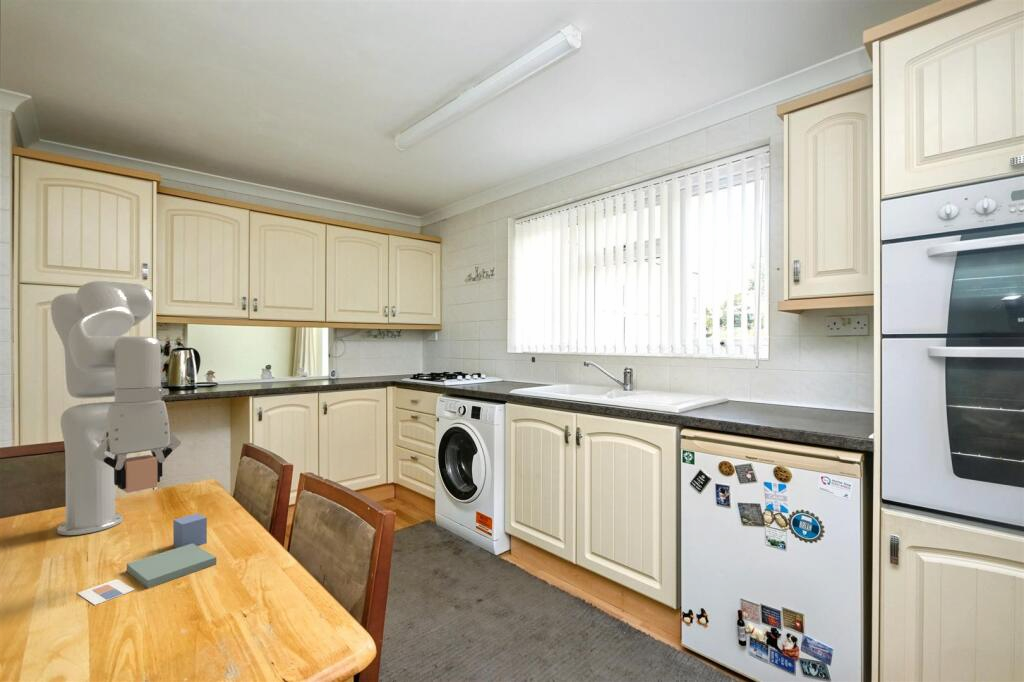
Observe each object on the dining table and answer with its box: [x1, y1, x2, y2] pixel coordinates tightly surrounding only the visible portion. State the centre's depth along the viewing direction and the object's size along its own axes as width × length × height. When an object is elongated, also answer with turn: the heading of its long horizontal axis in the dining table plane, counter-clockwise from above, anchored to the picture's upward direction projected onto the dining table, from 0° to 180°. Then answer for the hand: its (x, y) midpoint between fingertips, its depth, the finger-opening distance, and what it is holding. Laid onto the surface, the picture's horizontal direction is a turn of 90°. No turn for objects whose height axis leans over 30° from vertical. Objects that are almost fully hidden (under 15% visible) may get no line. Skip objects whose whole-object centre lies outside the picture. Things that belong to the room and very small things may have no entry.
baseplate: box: [126, 543, 217, 589], centre depth 99 cm, size 12×12×2 cm
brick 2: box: [172, 513, 208, 548], centre depth 110 cm, size 5×5×6 cm
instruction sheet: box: [77, 578, 135, 606], centre depth 89 cm, size 8×6×1 cm
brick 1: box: [120, 454, 159, 494], centre depth 97 cm, size 5×5×6 cm
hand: (138, 483), depth 97 cm, fingers closed on brick 1, 5 cm apart
